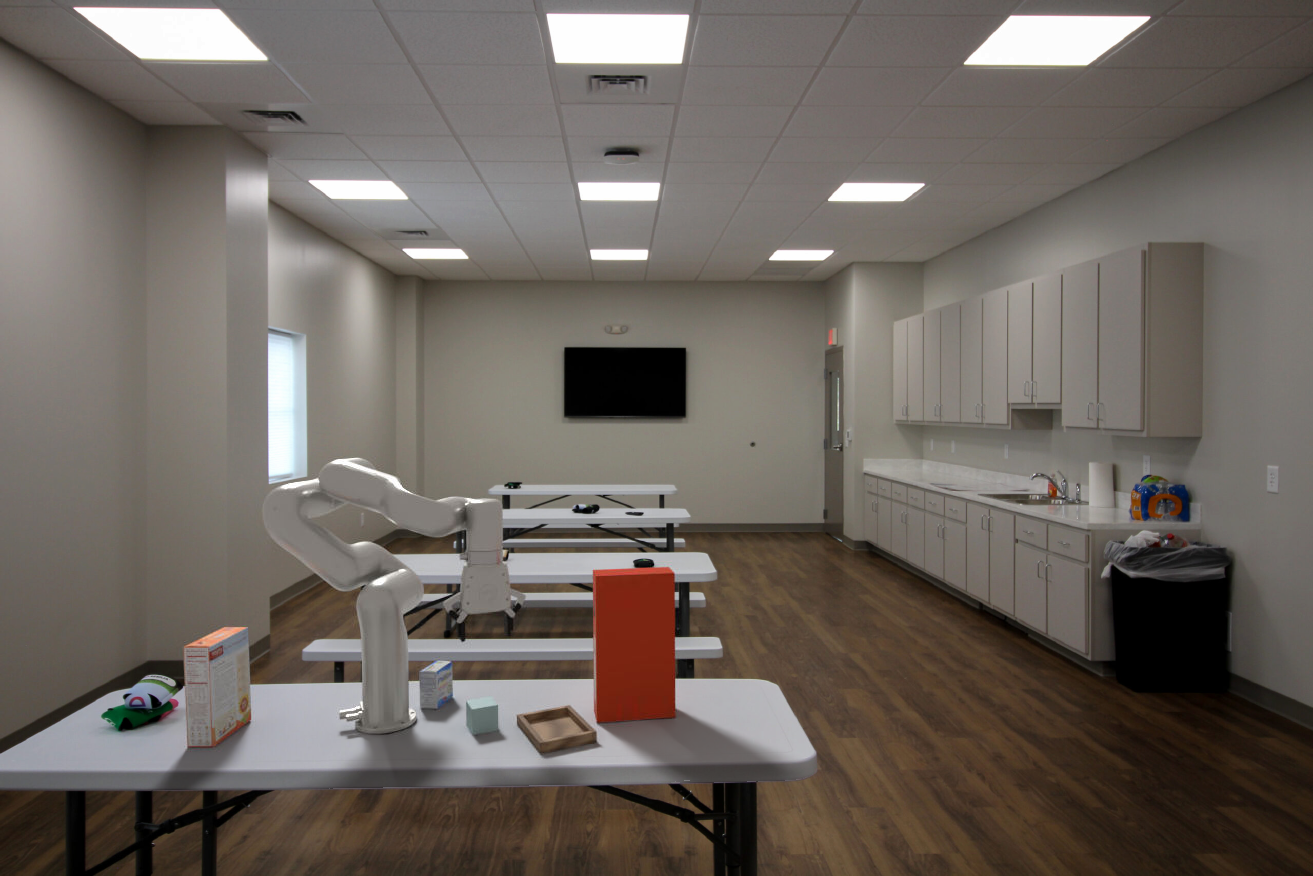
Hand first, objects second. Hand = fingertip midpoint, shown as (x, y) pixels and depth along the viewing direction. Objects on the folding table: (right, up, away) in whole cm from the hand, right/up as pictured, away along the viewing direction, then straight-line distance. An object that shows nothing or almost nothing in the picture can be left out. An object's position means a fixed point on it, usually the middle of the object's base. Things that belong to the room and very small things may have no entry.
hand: (485, 637), depth 163 cm
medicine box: (-15, -19, +15) cm, 29 cm away
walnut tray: (+15, -20, -2) cm, 25 cm away
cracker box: (-55, -20, -2) cm, 59 cm away
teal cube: (-1, -20, +1) cm, 20 cm away
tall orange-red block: (+31, -19, +8) cm, 38 cm away
